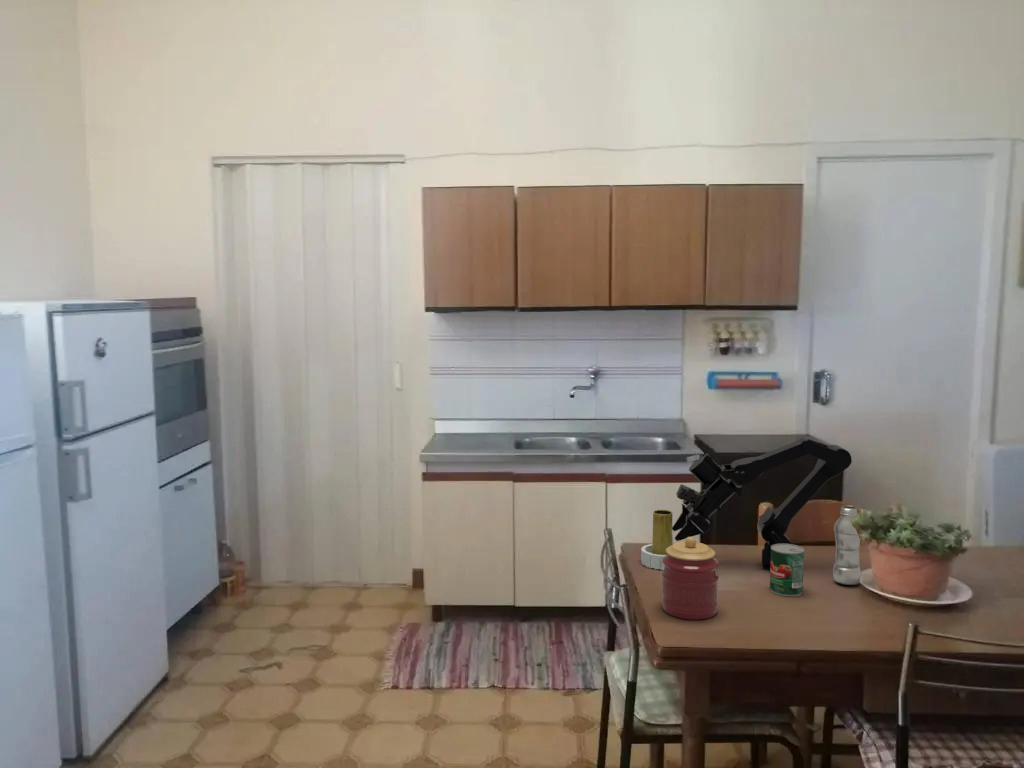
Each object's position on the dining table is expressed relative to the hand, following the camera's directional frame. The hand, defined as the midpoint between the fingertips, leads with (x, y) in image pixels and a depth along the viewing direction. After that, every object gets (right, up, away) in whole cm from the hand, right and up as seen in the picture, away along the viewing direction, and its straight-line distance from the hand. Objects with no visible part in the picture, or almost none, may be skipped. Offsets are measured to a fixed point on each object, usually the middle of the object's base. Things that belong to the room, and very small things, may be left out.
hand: (674, 534), depth 211 cm
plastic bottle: (+41, -10, -16) cm, 45 cm away
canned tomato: (+24, -10, -20) cm, 33 cm away
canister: (-3, -12, -31) cm, 34 cm away
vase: (-3, -8, +1) cm, 9 cm away
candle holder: (-3, -8, +1) cm, 9 cm away
